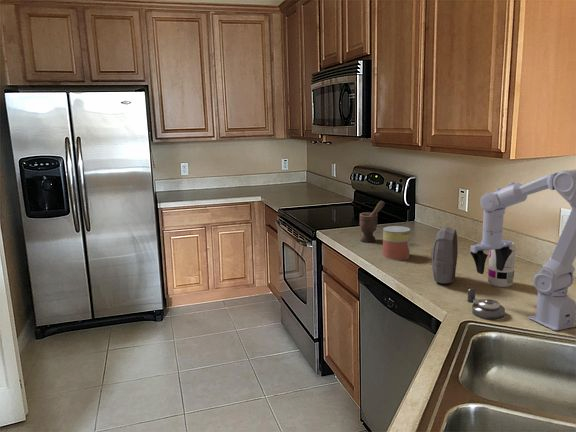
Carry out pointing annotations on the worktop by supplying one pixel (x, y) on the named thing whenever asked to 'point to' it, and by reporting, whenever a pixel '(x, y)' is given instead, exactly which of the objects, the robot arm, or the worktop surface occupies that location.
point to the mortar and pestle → (369, 223)
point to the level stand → (488, 313)
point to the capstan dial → (482, 301)
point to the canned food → (396, 242)
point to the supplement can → (498, 276)
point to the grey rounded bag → (444, 255)
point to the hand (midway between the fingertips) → (489, 271)
